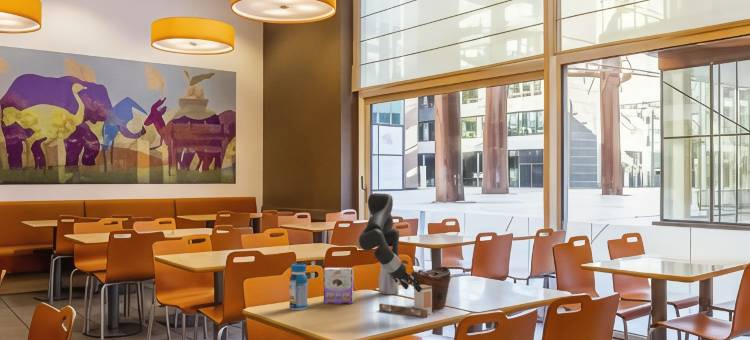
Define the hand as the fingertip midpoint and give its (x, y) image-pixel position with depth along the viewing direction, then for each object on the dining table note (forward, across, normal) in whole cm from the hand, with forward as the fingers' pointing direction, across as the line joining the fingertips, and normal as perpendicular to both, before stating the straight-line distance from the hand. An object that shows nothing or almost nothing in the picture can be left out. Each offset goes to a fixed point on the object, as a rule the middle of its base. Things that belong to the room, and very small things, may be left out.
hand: (413, 289), depth 281 cm
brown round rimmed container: (+21, +9, -5) cm, 23 cm away
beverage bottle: (-15, +42, +31) cm, 54 cm away
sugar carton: (+12, 0, +4) cm, 12 cm away
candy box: (+1, +42, +16) cm, 45 cm away
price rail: (+6, +5, +9) cm, 12 cm away
